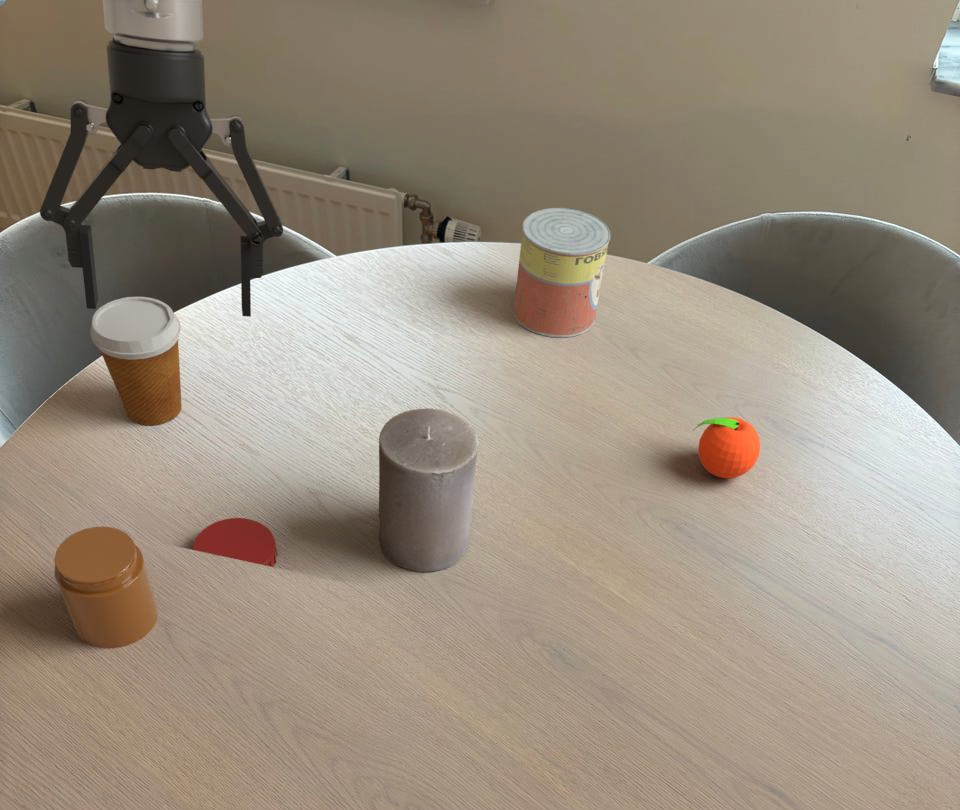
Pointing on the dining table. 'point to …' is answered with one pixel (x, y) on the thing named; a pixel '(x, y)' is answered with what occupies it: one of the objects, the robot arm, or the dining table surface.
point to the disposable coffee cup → (141, 356)
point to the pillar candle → (426, 488)
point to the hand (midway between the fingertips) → (170, 308)
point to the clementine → (728, 447)
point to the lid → (238, 541)
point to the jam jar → (105, 587)
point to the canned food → (560, 271)
